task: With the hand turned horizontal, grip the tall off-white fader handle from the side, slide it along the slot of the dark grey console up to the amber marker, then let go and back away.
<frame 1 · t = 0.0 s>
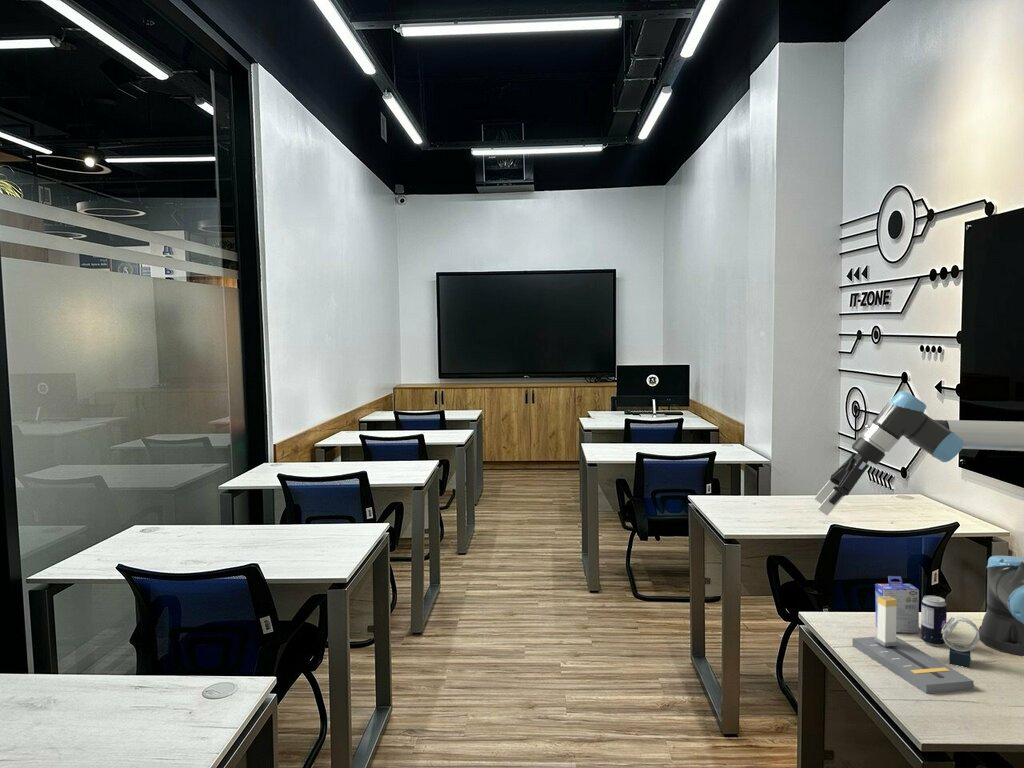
hand: (820, 506, 184), 36 cm above the table, tool tilted 35°, fingers open, 13 cm apart
watch: (959, 662, 171), on the table
ink cartridge box: (896, 630, 192), on the table
fader console: (908, 666, 169), on the table
fader handle: (886, 620, 177), point 8 cm above the table, slide at 0.0 cm
beverage can: (933, 644, 182), on the table
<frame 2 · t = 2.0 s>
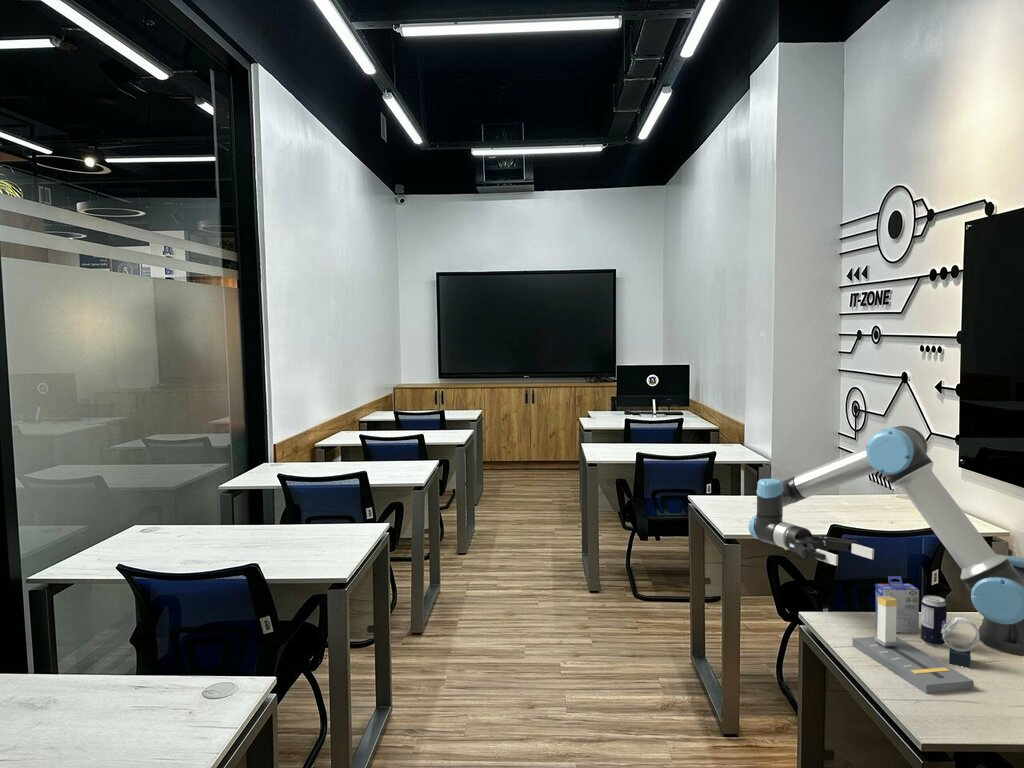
hand: (855, 557, 185), 22 cm above the table, tool horizontal, fingers open, 13 cm apart
nothing on the table moved.
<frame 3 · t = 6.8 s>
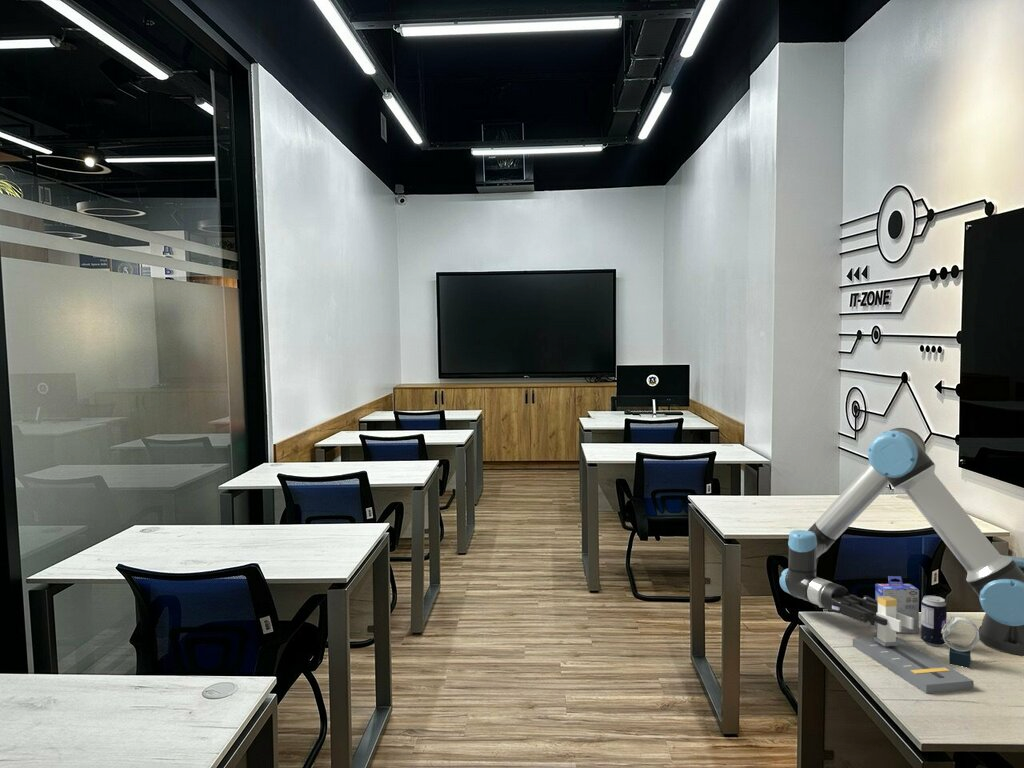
hand: (906, 625, 172), 9 cm above the table, tool horizontal, fingers closed on fader handle, 4 cm apart
fader handle: (886, 620, 177), point 8 cm above the table, slide at 0.0 cm, touching gripper
everything else where it was.
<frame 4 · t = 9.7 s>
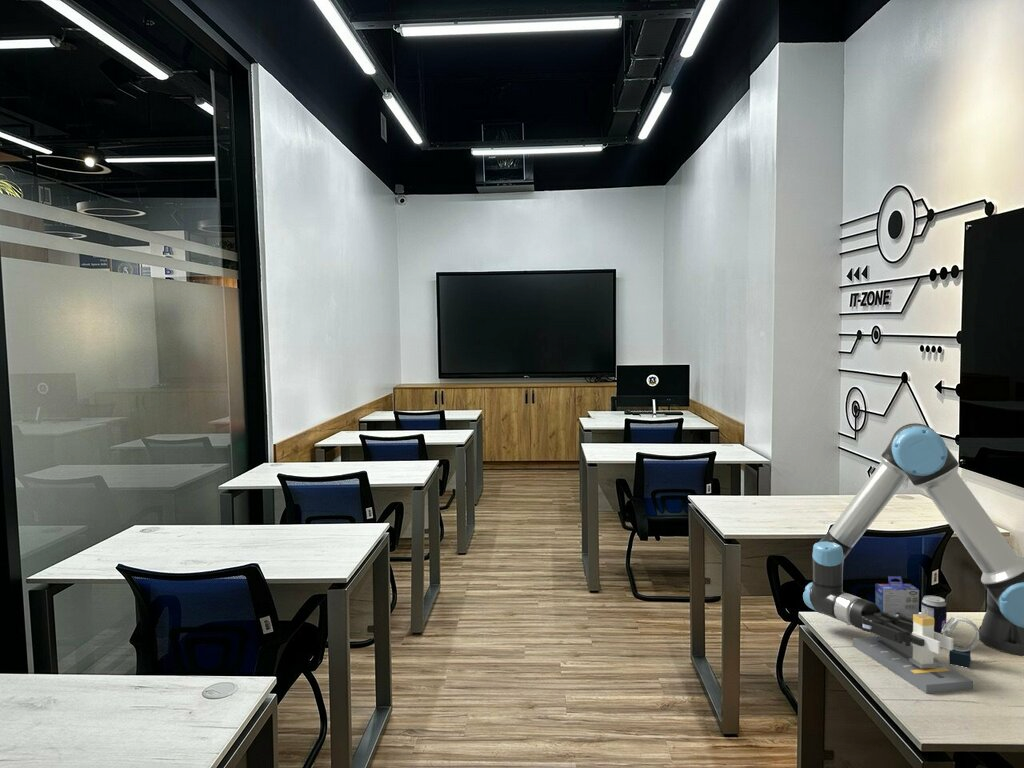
hand: (945, 646, 159), 9 cm above the table, tool horizontal, fingers closed on fader handle, 4 cm apart
fader handle: (923, 640, 164), point 8 cm above the table, slide at 12.6 cm, touching gripper
everything else where it was.
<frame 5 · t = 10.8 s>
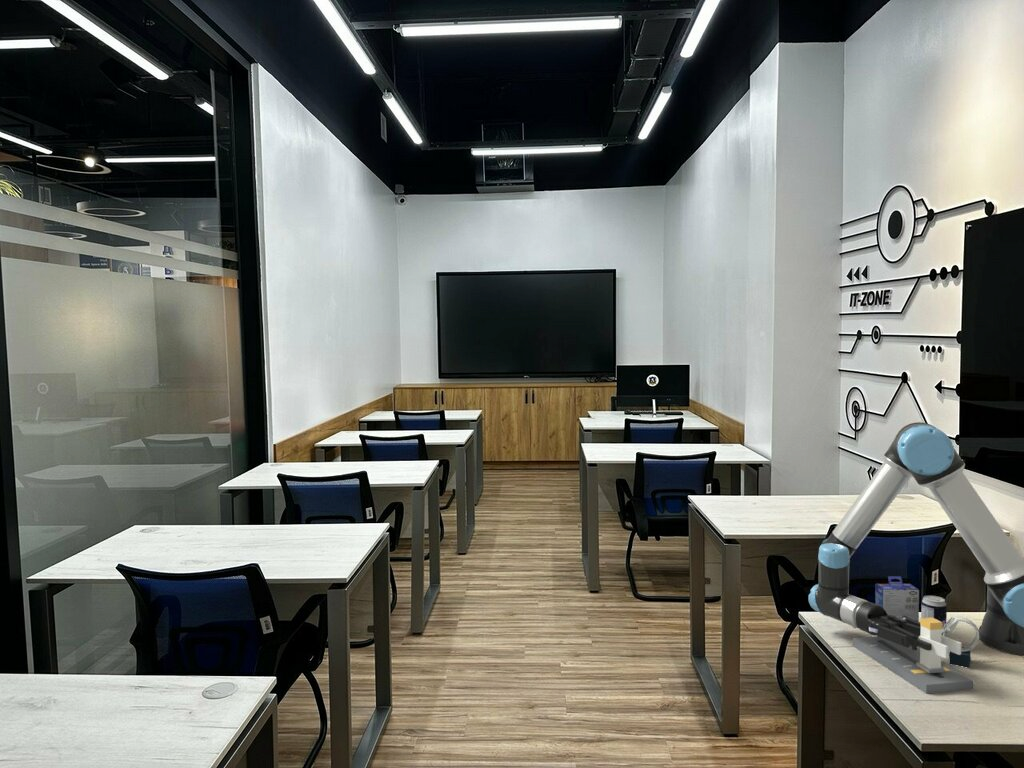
hand: (953, 650, 157), 9 cm above the table, tool horizontal, fingers open, 4 cm apart
fader handle: (930, 644, 162), point 8 cm above the table, slide at 15.0 cm
everything else where it was.
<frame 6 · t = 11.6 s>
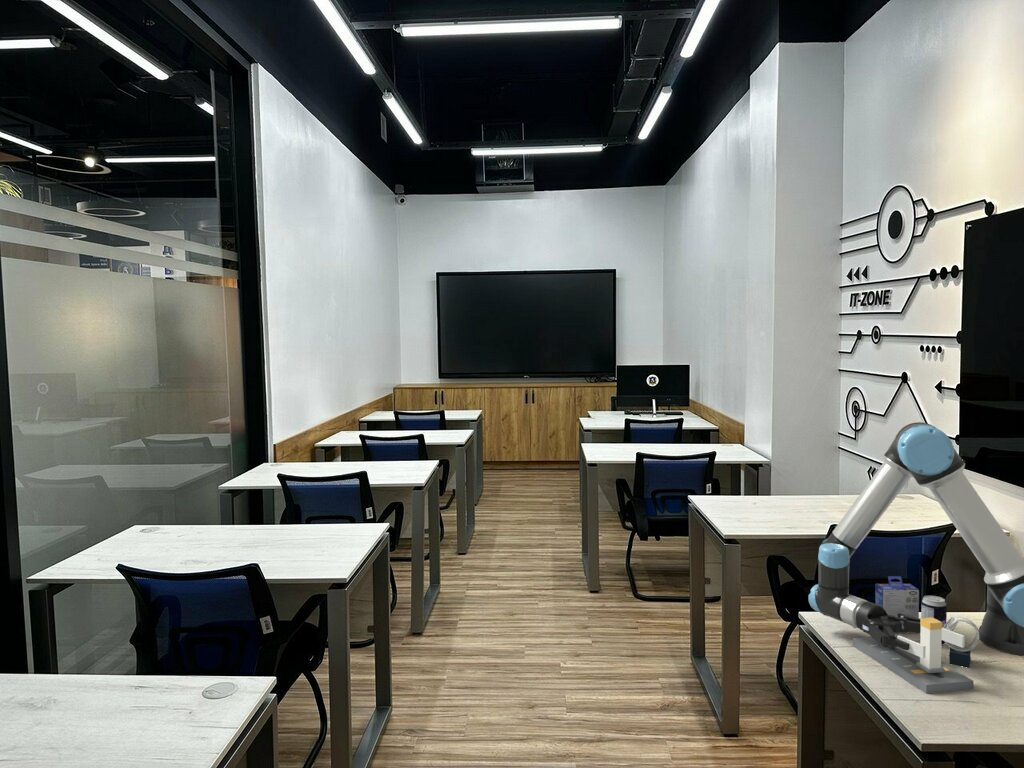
hand: (944, 647, 159), 9 cm above the table, tool horizontal, fingers open, 13 cm apart
nothing on the table moved.
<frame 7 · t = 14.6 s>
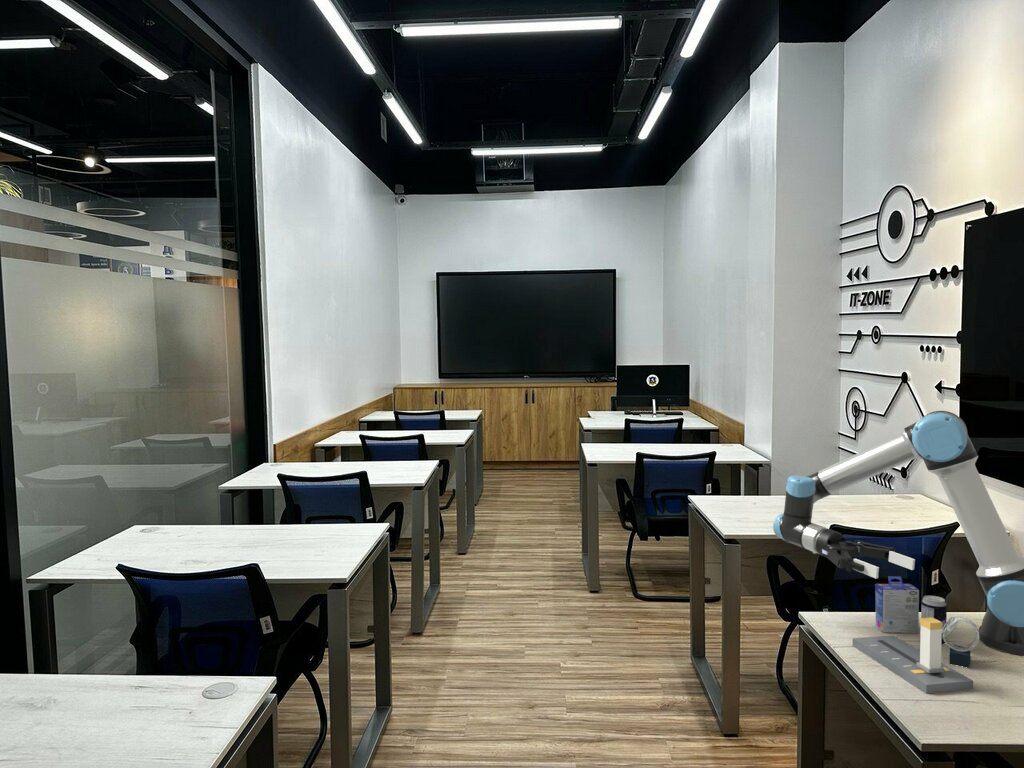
hand: (896, 568, 171), 23 cm above the table, tool horizontal, fingers open, 13 cm apart
nothing on the table moved.
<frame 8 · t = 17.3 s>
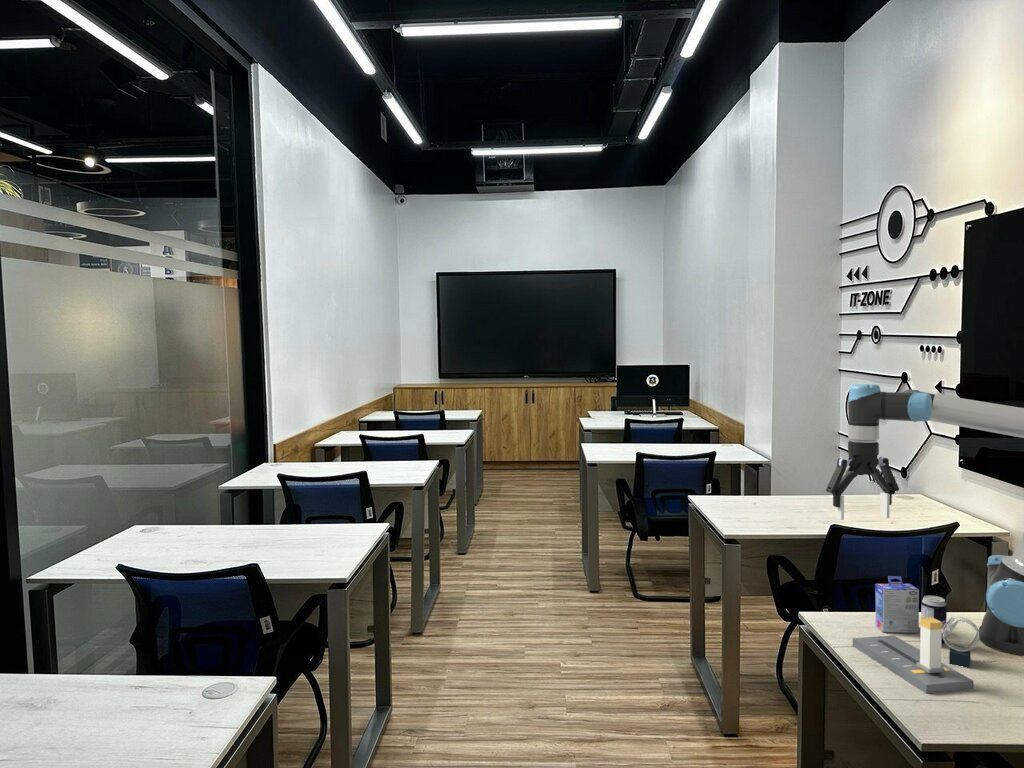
hand: (862, 517, 189), 32 cm above the table, tool pointing down, fingers open, 13 cm apart
nothing on the table moved.
at the end: fader handle slide at 15.0 cm; the gripper is holding nothing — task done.
